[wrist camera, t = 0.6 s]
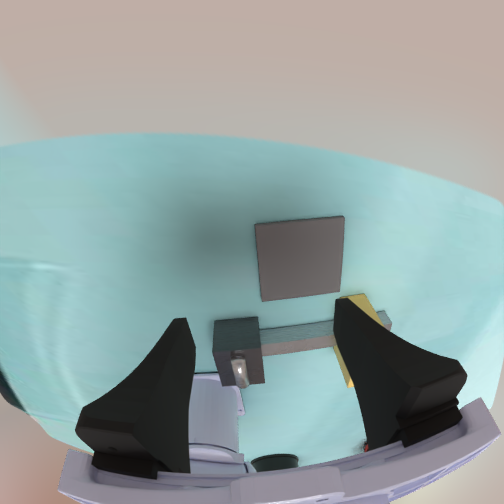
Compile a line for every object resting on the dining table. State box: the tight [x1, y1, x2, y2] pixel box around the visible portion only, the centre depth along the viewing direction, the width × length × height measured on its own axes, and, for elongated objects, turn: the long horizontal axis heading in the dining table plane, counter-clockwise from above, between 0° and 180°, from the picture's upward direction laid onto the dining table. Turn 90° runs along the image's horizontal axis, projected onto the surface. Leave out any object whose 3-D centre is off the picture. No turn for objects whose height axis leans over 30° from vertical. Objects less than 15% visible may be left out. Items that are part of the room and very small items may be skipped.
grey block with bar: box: [212, 311, 392, 389], centre depth 25 cm, size 5×17×5 cm, turn 95°
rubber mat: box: [255, 216, 345, 302], centre depth 23 cm, size 7×7×1 cm
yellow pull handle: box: [334, 294, 385, 388], centre depth 24 cm, size 7×2×6 cm, turn 5°
